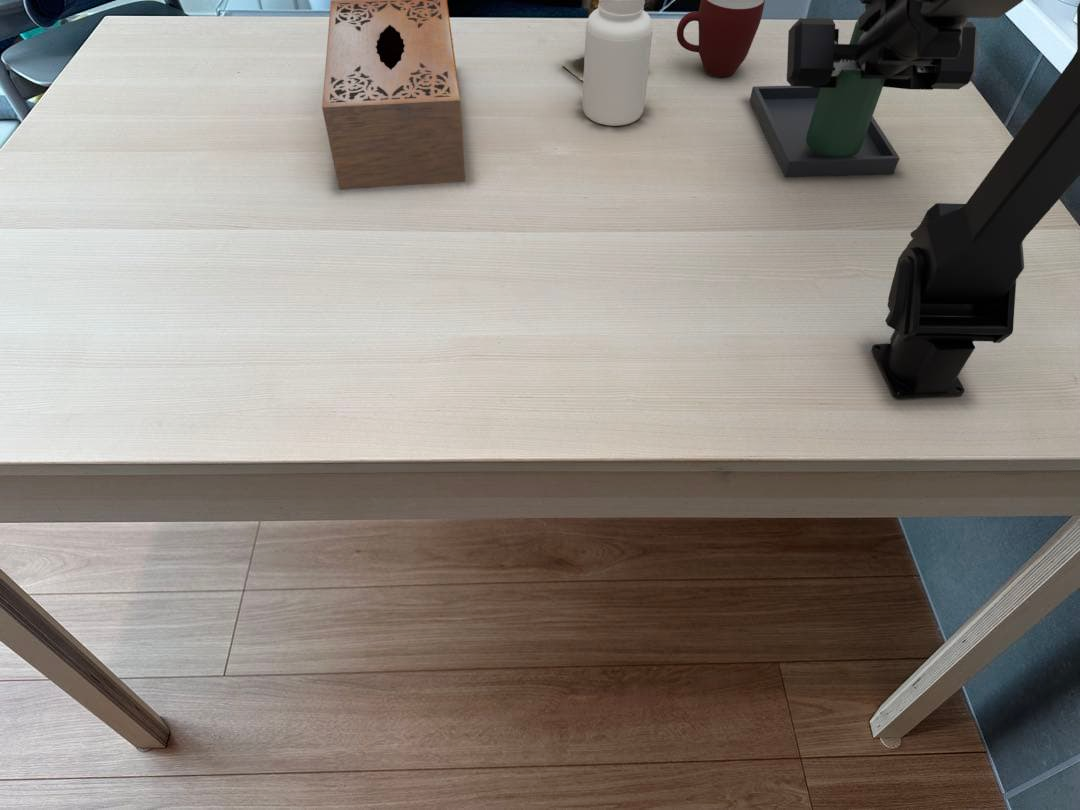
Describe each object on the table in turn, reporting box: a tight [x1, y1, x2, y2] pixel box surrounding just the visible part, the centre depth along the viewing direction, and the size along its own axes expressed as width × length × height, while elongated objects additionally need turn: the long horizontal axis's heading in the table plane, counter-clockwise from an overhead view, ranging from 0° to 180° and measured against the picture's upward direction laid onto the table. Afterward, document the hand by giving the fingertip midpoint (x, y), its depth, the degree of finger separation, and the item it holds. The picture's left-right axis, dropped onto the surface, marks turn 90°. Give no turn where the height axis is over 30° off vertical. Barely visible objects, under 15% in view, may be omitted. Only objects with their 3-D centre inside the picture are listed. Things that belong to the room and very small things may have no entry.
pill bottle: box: [581, 0, 654, 127], centre depth 97 cm, size 8×8×15 cm
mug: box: [676, 0, 766, 78], centre depth 106 cm, size 11×8×10 cm
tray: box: [749, 85, 901, 178], centre depth 99 cm, size 17×13×2 cm
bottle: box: [806, 19, 886, 157], centre depth 90 cm, size 6×6×14 cm
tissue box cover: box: [321, 0, 467, 190], centre depth 96 cm, size 26×14×10 cm, turn 8°
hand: (849, 80), depth 90 cm, fingers closed on bottle, 6 cm apart
